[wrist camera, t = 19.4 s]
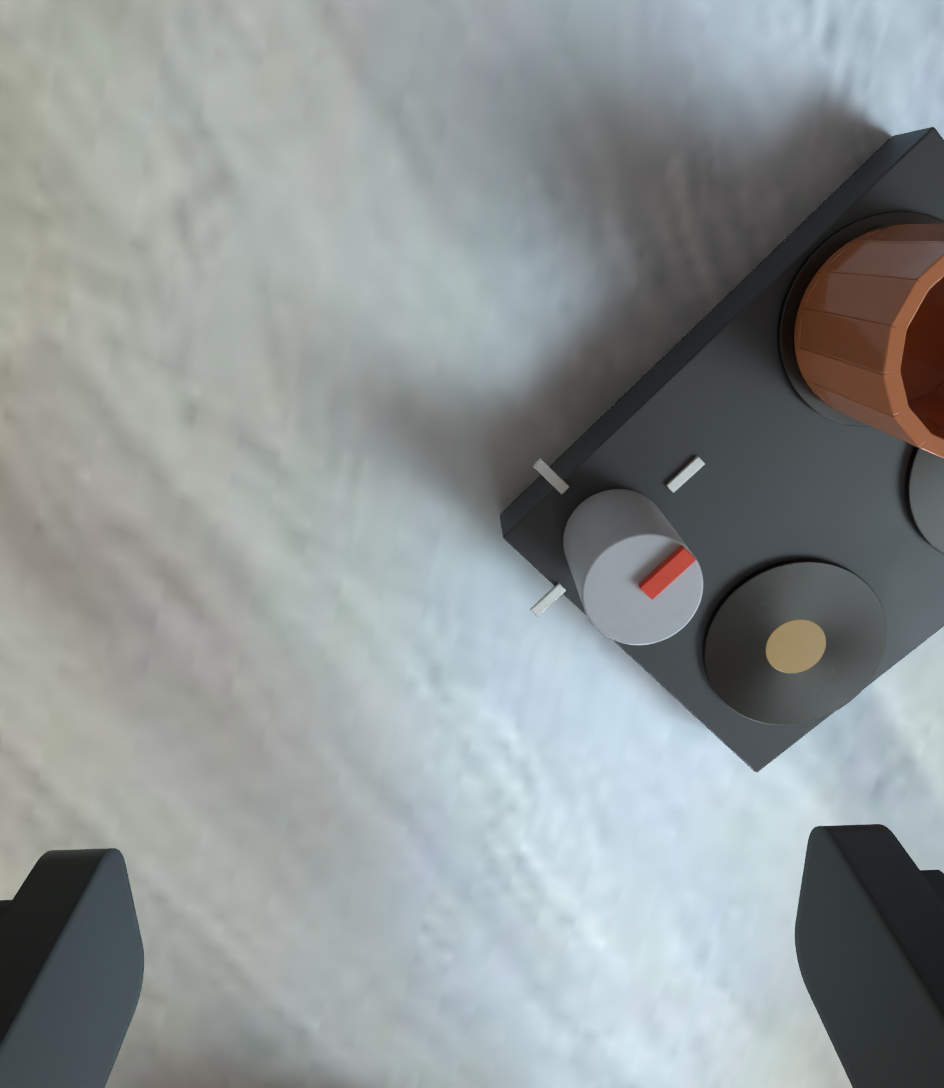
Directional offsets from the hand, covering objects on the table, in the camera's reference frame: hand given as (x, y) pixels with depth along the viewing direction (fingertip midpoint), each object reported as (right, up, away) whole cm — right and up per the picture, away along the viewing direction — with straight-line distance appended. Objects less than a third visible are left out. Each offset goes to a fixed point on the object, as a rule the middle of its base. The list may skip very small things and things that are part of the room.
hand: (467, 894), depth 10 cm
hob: (+12, +7, +21) cm, 25 cm away
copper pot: (+13, +11, +17) cm, 24 cm away
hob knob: (+5, +4, +19) cm, 20 cm away
